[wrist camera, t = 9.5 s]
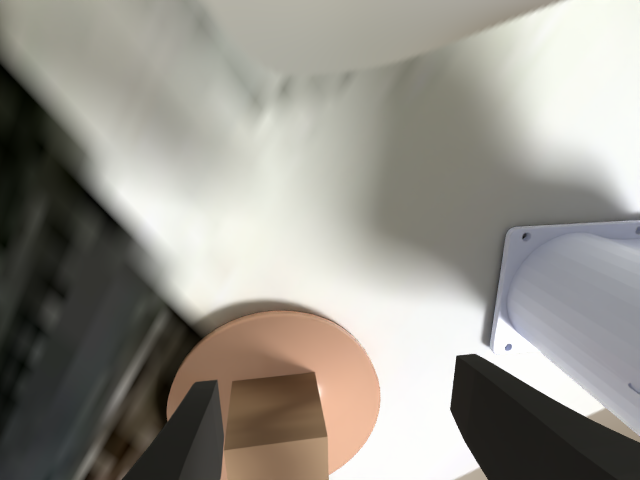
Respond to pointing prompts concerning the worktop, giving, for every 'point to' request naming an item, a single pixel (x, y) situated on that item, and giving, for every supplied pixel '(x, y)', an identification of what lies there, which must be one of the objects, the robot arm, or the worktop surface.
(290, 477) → the walnut block
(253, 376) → the terracotta dish
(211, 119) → the worktop surface
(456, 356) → the robot arm
